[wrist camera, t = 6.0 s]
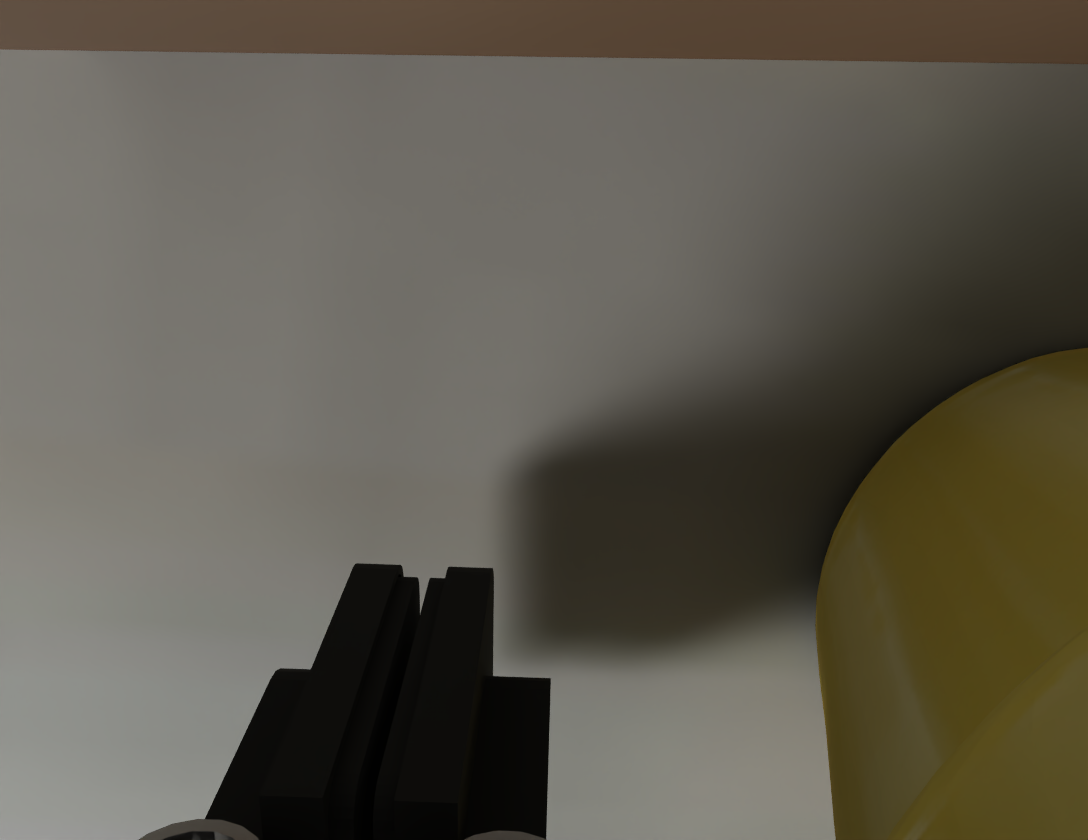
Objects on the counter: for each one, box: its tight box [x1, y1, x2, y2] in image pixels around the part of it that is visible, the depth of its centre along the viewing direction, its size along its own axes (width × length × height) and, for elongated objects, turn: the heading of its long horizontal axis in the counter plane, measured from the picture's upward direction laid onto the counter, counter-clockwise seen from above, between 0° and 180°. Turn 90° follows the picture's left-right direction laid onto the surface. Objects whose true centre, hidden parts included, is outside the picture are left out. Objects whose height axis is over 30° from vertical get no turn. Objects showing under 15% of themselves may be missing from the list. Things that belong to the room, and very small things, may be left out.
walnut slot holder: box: [0, 0, 1088, 64], centre depth 12 cm, size 15×12×2 cm
